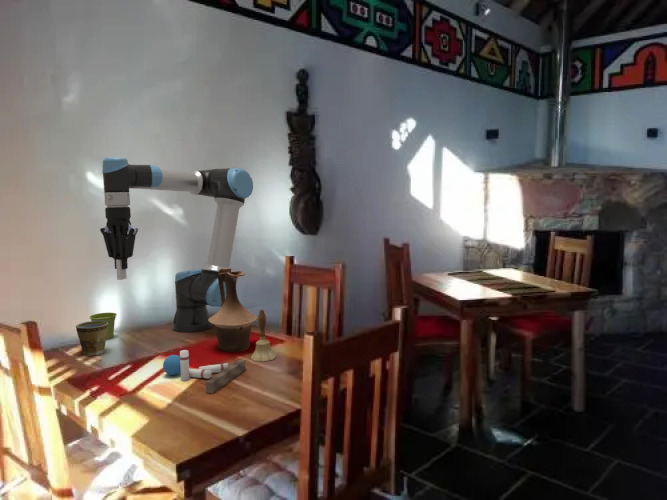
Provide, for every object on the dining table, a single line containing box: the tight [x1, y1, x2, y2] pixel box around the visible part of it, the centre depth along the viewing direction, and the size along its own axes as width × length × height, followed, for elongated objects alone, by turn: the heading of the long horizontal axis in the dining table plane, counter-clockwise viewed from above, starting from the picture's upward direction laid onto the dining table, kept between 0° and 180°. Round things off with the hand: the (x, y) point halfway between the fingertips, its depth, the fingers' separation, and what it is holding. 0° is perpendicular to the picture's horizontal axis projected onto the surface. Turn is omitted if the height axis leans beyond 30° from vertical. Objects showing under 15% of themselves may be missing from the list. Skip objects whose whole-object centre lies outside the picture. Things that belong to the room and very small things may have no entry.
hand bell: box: [250, 309, 277, 363], centre depth 174 cm, size 8×8×16 cm
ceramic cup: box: [75, 320, 108, 357], centre depth 182 cm, size 13×10×10 cm
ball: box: [162, 354, 181, 376], centre depth 159 cm, size 6×6×6 cm
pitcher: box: [208, 267, 258, 353], centre depth 185 cm, size 18×17×28 cm
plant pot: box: [89, 312, 118, 340], centre depth 200 cm, size 9×9×9 cm
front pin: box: [189, 367, 213, 380], centre depth 157 cm, size 2×2×8 cm
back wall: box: [205, 358, 247, 394], centre depth 154 cm, size 20×2×3 cm, turn 163°
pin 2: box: [198, 362, 230, 374], centre depth 161 cm, size 2×2×8 cm
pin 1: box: [179, 349, 191, 382], centre depth 155 cm, size 2×2×8 cm
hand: (121, 279), depth 173 cm, fingers closed
